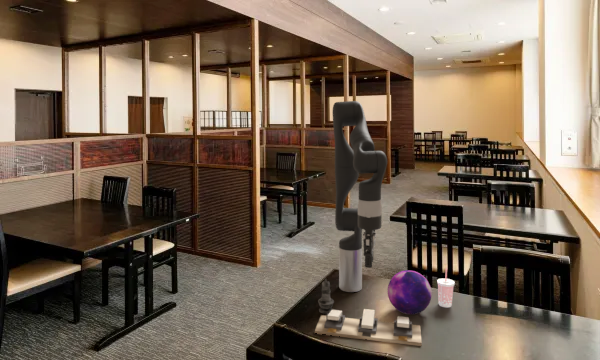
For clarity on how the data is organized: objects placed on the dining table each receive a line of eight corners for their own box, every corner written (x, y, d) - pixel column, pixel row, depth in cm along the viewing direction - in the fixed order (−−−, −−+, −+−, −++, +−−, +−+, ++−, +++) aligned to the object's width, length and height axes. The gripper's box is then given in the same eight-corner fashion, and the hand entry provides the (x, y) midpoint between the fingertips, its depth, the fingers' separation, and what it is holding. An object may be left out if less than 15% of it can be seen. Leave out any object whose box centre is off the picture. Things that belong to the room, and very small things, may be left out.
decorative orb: (387, 301, 153) (387, 263, 151) (428, 304, 150) (429, 265, 148) (387, 320, 138) (388, 278, 136) (433, 324, 135) (434, 281, 133)
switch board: (321, 317, 141) (321, 307, 140) (420, 328, 132) (420, 317, 132) (314, 333, 130) (314, 322, 130) (421, 346, 122) (421, 334, 121)
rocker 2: (363, 311, 136) (363, 308, 135) (374, 312, 135) (374, 309, 135) (361, 327, 129) (361, 324, 128) (372, 329, 128) (372, 325, 127)
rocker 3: (397, 319, 133) (397, 316, 133) (408, 321, 132) (408, 317, 133) (397, 326, 126) (397, 322, 126) (409, 327, 125) (409, 323, 125)
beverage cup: (457, 305, 148) (458, 268, 147) (447, 309, 145) (448, 272, 143) (443, 299, 153) (444, 264, 152) (432, 303, 150) (433, 267, 148)
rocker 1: (331, 313, 139) (331, 309, 139) (342, 314, 138) (342, 310, 138) (327, 319, 131) (327, 315, 131) (338, 320, 130) (338, 316, 130)
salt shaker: (333, 306, 149) (333, 275, 148) (335, 313, 143) (335, 281, 142) (317, 307, 149) (316, 275, 147) (318, 314, 143) (318, 282, 142)
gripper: (360, 208, 137) (360, 256, 140) (355, 217, 123) (355, 271, 126) (382, 209, 135) (382, 258, 138) (380, 218, 122) (379, 273, 124)
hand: (369, 264), depth 132 cm, fingers open, 5 cm apart
